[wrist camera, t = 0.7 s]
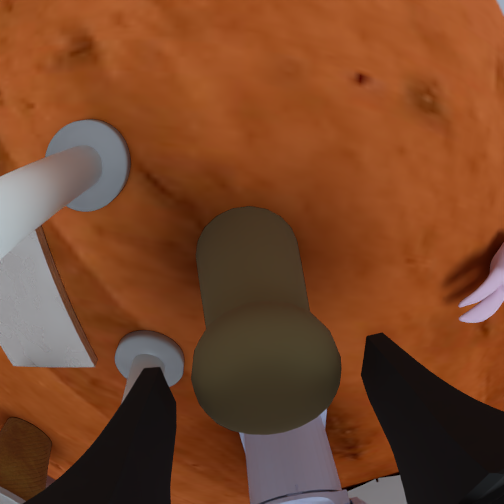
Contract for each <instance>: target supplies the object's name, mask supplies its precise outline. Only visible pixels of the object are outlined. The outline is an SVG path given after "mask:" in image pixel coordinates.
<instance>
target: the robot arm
mask: <svg viewBox="0 0 504 504" xmlns="http://www.w3.org/2000/svg"><path fill="white" fill-rule="evenodd" d="M361 376H362V380H363V383H364V386H365V389H366V392H367V395H368V398H369V400H370V403H371V405H372V407H373V409H374V411H375V413H376V416H377V418H378V420H379V422H380V424H381V426H382V428H383V431H384V433H385V435H386V437H387V439H388V441H389V444H390V446H391V449H392V451H393V454H394V457H395V460H396V463H397V467H398V470H399V473H400V477H401V481H402V485H403V488H404V492H405V497H406V502H407V504H504V412H503V411H501V410H498V409H496V408H493V407H491V406H489V405H486V404H484V403H482V402H480V401H478V400H476V399H474V398H472V397H470V396H468V395H466V394H464V393H463V392H461V391H459V390H457V389H456V388H454V387H452V386H451V385H449V384H448V383H446V382H445V381H443V380H442V379H440V378H439V377H437V376H436V375H435V374H433V373H432V372H430V371H429V370H428V369H426V368H425V367H424V366H423V365H421V364H420V363H419V362H417V361H416V360H415V359H414V358H412V357H411V356H410V355H409V354H408V353H406V352H405V351H404V350H403V349H402V348H400V347H399V346H398V345H397V344H396V343H394V342H393V341H392V340H391V339H390V338H388V337H387V336H386V335H385V334H383V333H378V334H374V335H370V336H367V337H366V345H365V352H364V359H363V365H362V372H361ZM326 414H327V409H326V410H325V411H324V412H323V413H321V414H320V415H319V416H318V417H317V418H315V419H314V420H312V421H310V422H308V423H307V424H305V425H303V426H301V427H299V428H296V429H293V430H290V431H287V432H283V433H277V434H270V435H251V434H245V433H240V432H239V434H240V437H241V441H242V444H243V447H244V450H245V454H246V464H247V475H248V485H249V495H250V504H367V503H366V502H365V501H362V500H360V499H359V498H358V497H353V498H349V497H348V493H347V490H346V489H345V490H342V488H341V484H340V480H339V477H338V473H337V470H336V466H335V463H334V459H333V456H332V452H331V449H330V445H329V442H328V438H327V435H326V431H325V425H326ZM175 435H176V401H175V399H174V397H173V395H172V392H171V390H170V388H169V386H168V384H167V381H166V379H165V377H164V374H163V372H162V370H161V367H151V368H144V369H143V370H142V371H141V373H140V375H139V376H138V378H137V380H136V381H135V383H134V385H133V386H132V388H131V389H130V391H129V393H128V394H127V396H126V397H125V399H124V401H123V402H122V404H121V405H120V407H119V408H118V410H117V411H116V413H115V414H114V416H113V417H112V419H111V420H110V422H109V423H108V424H107V426H106V427H105V428H104V430H103V431H102V433H101V434H100V435H99V437H98V438H97V439H96V440H95V442H94V443H93V444H92V445H91V446H90V448H89V449H88V450H87V451H86V452H85V453H84V454H83V455H82V456H81V457H80V458H79V460H78V461H77V462H76V463H75V464H74V465H73V466H72V467H70V468H69V469H68V470H67V471H66V472H65V473H64V474H63V475H62V476H61V477H59V478H58V479H57V480H56V481H55V482H54V483H52V484H51V485H50V486H49V487H47V488H46V489H44V490H43V491H41V492H40V493H38V494H37V495H35V496H34V497H32V498H31V499H29V500H27V501H26V502H24V503H23V504H171V500H170V482H171V471H172V462H173V453H174V444H175Z"/></svg>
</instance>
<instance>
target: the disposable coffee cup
mask: <svg viewBox="0 0 504 504" xmlns="http://www.w3.org/2000/svg"><path fill="white" fill-rule="evenodd" d="M51 446H52V443H51V441H50V439H49V438H48V437H47V436H46V435H45V434H44V433H43V432H42V431H41V430H39V429H38V428H36V427H35V426H33V425H32V424H30V423H28V422H26V421H24V420H21V419H18V418H9V419H8V420H7V422H6V423H5V425H4V426H3V428H2V430H1V431H0V504H23V503H24V502H26V501H27V500H29V499H31V498H32V497H34V496H35V495H37V494H38V493H40V492H41V491H43V490H44V489H45V487H46V478H47V470H48V464H49V457H50V451H51Z"/></svg>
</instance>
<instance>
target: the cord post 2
mask: <svg viewBox="0 0 504 504" xmlns="http://www.w3.org/2000/svg"><path fill="white" fill-rule="evenodd" d="M115 363H116V366H117V368H118V370H119V371H120V373H121V374H122V375H123V376H124V377H125V378H127V383H126V387H125V391H124V395H123V399H122V402H123V401H124V399H125V397H126V396H127V394H128V393H129V391H130V389H131V388H132V386H133V385H134V383H135V381H136V380H137V378H138V376H139V375H140V373H141V371H142V370H143V369H144V368H151V367H161V370H162V372H163V374H164V377H165V379H166V381H167V384H168V386H169V387H170V386H172V385H174V384H175V383H177V382H178V381H179V380H180V379H181V377H182V374H183V368H184V355H183V352H182V350H181V348H180V347H179V346H178V345H177V344H176V343H175V342H174V341H173V340H172V339H170V338H169V337H167V336H165V335H163V334H160V333H158V332H154V331H147V330H140V331H134V332H131V333H129V334H127V335H125V336H124V337H123V338H122V339H121V341H120V343H119V345H118V348H117V351H116V354H115ZM121 404H122V403H121Z"/></svg>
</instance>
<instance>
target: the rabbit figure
mask: <svg viewBox="0 0 504 504" xmlns="http://www.w3.org/2000/svg"><path fill="white" fill-rule="evenodd" d="M479 301H480V302H479ZM503 301H504V242H503V244H502V245H501V247H500V249H499V250H498V251H497V253H496V254H495V255H494V257H493V259H492V261H491V264H490V274H489V276H488V277H487V279H486V280H485V281H484V282H483V283H482V284H481V286H480V287H479V288H478V289H476V290H475V291H474V292H473V293H472V294H470V295H469V296H467V297H466V298H465V299H463V300H462V301H461V302H460V303H459V305H458V306H459V307H463V306H466V305H470V304H473V303H477V302H479V303H478V304H477V305H476V306H474V307H473V308H471V309H470V310H469V311H468V312H466V313H465V314H463V315H462V316H460V317H459V320H460V321H462V322H468V323H477V322H481V321H484V320H486V319H487V318H489V317H490V316H491V315H493V314H494V313H495V312H496V311H497V309H498V308H499V307H500V305H501V304H502V302H503Z"/></svg>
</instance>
